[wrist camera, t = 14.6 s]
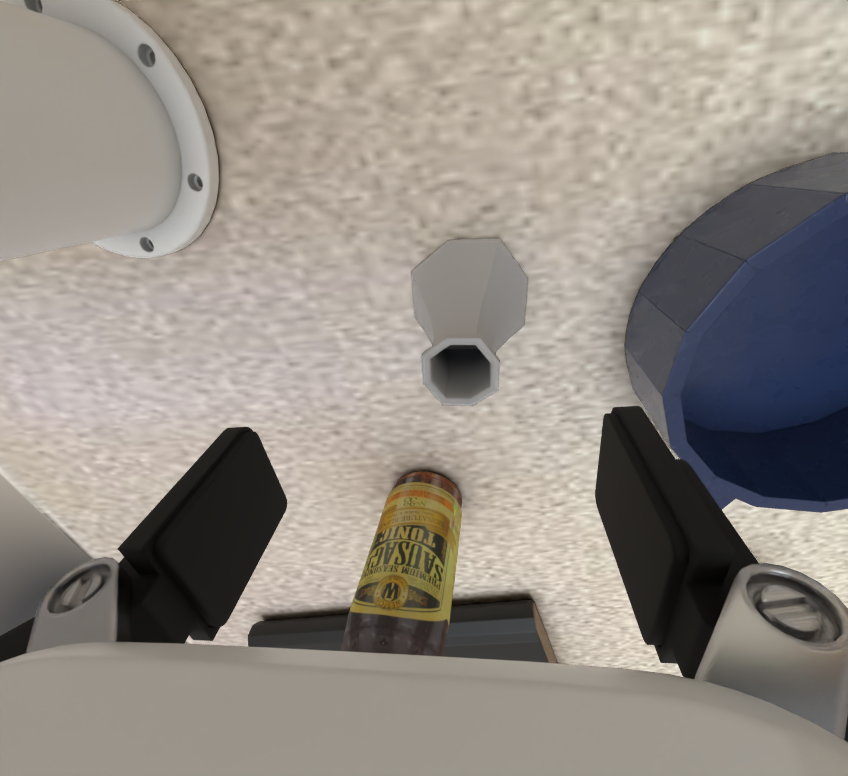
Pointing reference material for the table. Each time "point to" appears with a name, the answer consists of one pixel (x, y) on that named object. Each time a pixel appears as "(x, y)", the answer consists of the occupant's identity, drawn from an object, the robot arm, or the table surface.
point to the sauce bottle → (409, 571)
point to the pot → (754, 341)
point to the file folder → (466, 638)
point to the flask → (467, 316)
